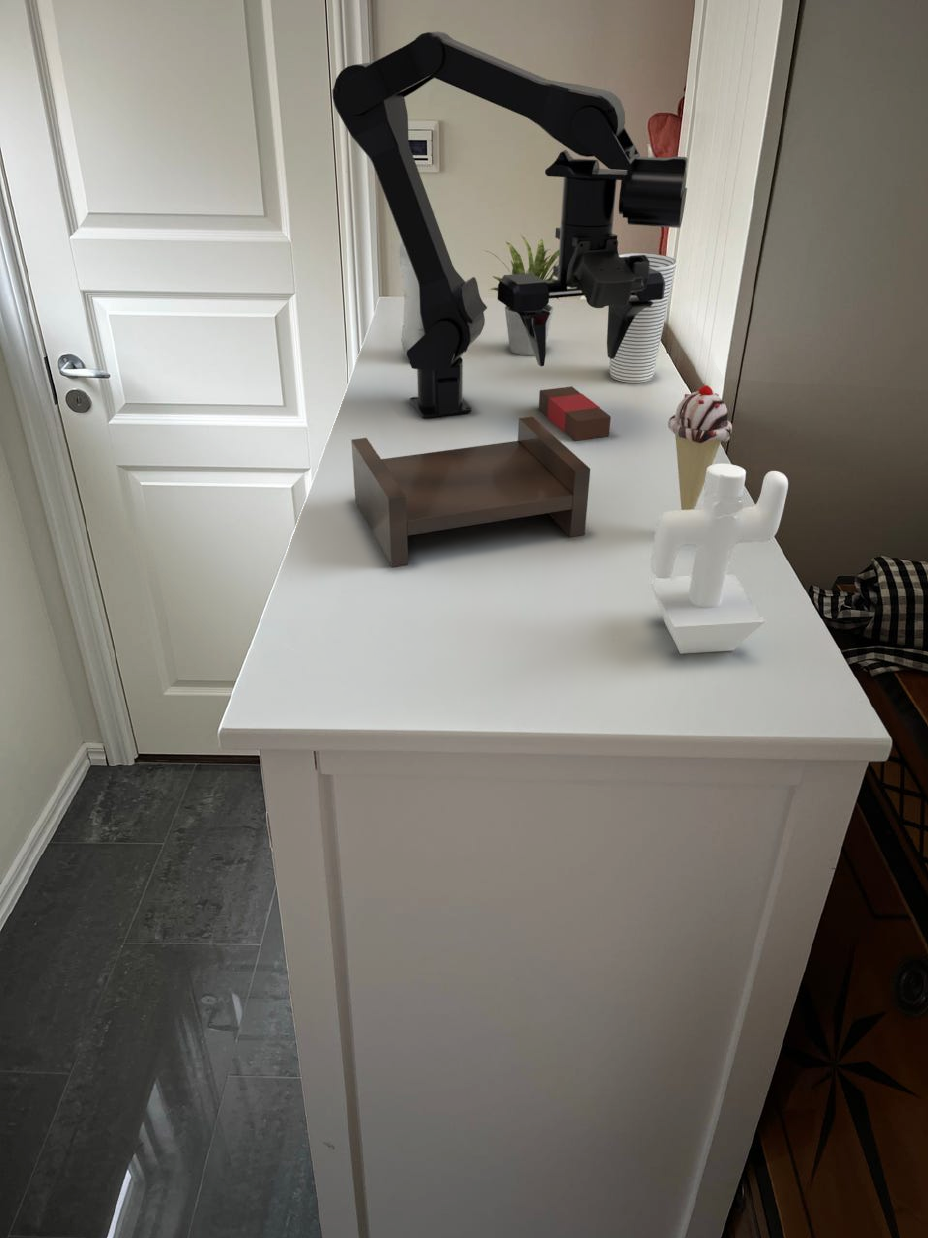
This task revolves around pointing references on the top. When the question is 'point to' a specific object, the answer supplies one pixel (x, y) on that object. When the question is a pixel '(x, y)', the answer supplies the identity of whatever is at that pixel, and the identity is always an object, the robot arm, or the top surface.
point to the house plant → (514, 323)
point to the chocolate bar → (574, 413)
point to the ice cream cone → (698, 440)
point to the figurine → (713, 560)
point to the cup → (644, 330)
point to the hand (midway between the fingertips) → (576, 361)
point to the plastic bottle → (410, 303)
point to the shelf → (469, 487)
